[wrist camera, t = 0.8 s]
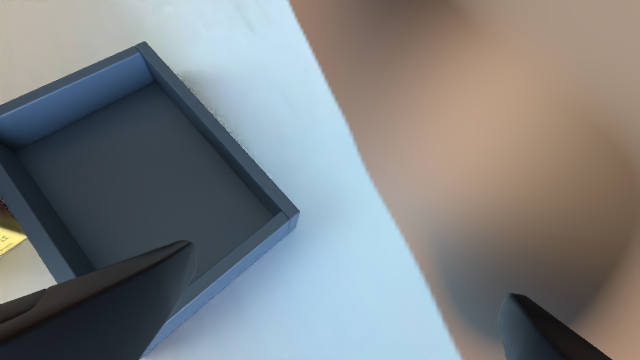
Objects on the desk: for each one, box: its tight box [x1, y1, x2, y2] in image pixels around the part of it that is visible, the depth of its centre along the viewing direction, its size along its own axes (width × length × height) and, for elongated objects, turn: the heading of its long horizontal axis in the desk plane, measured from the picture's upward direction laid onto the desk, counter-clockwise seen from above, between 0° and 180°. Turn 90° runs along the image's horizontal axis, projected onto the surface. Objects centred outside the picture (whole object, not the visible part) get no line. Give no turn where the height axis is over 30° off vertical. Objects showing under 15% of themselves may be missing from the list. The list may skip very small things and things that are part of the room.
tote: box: [0, 41, 300, 359], centre depth 20 cm, size 12×17×4 cm
